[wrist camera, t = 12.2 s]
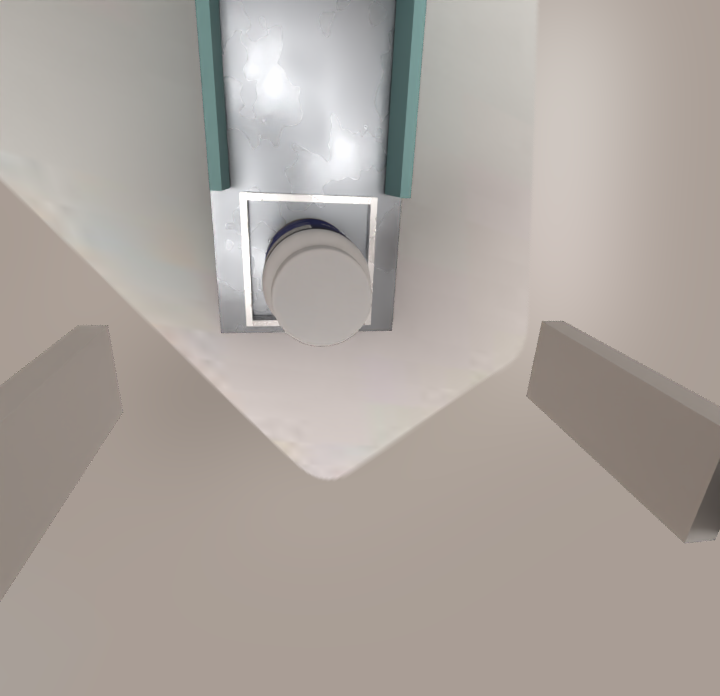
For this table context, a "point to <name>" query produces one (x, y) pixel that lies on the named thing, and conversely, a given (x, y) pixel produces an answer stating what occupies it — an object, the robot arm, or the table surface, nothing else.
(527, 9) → the table surface
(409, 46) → the housing
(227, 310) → the plate
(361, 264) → the pill bottle
